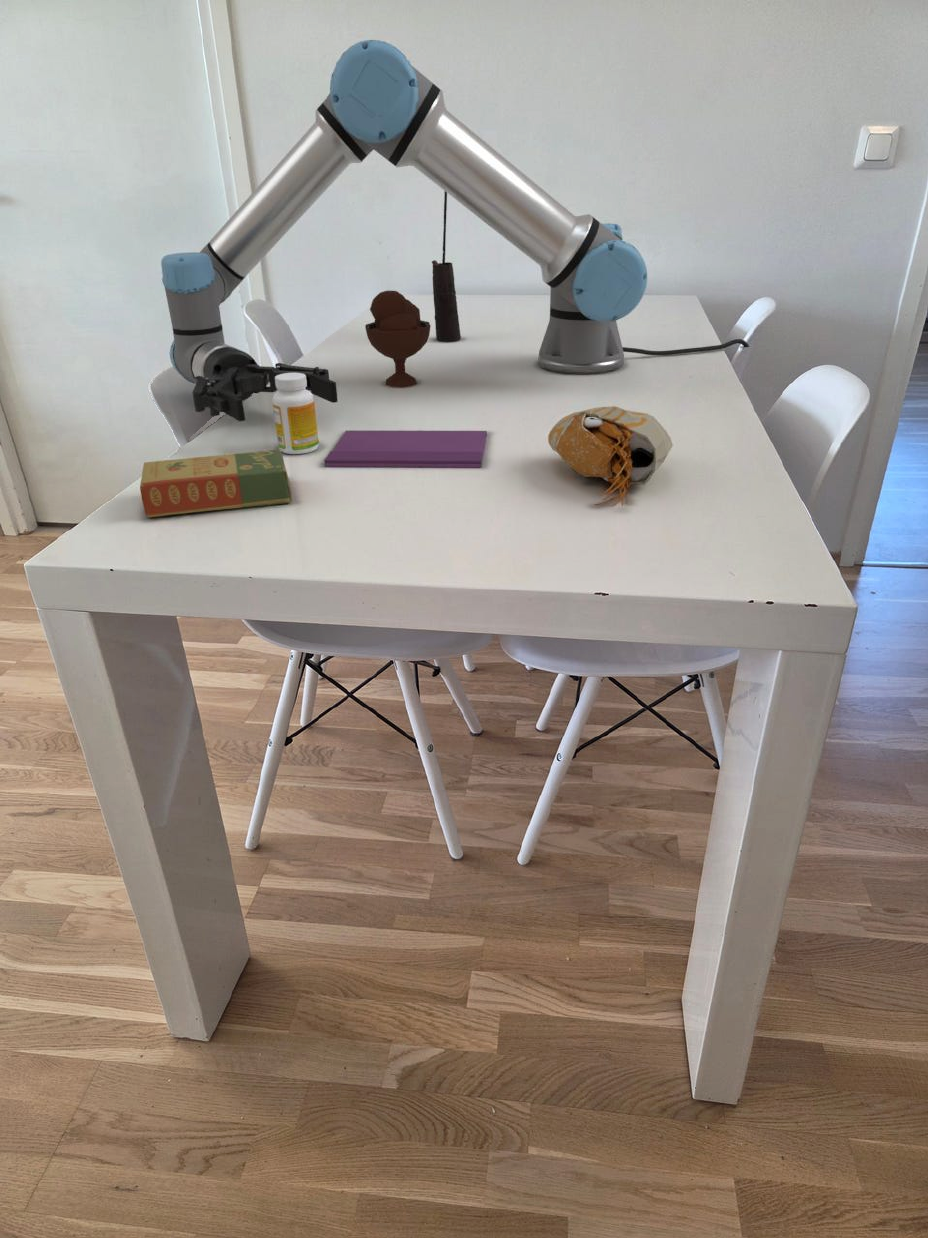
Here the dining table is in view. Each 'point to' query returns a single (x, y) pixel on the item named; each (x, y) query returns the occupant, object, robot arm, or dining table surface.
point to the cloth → (408, 449)
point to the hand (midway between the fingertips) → (289, 401)
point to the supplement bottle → (294, 414)
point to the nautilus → (612, 445)
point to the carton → (214, 483)
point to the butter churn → (445, 296)
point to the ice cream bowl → (397, 333)
